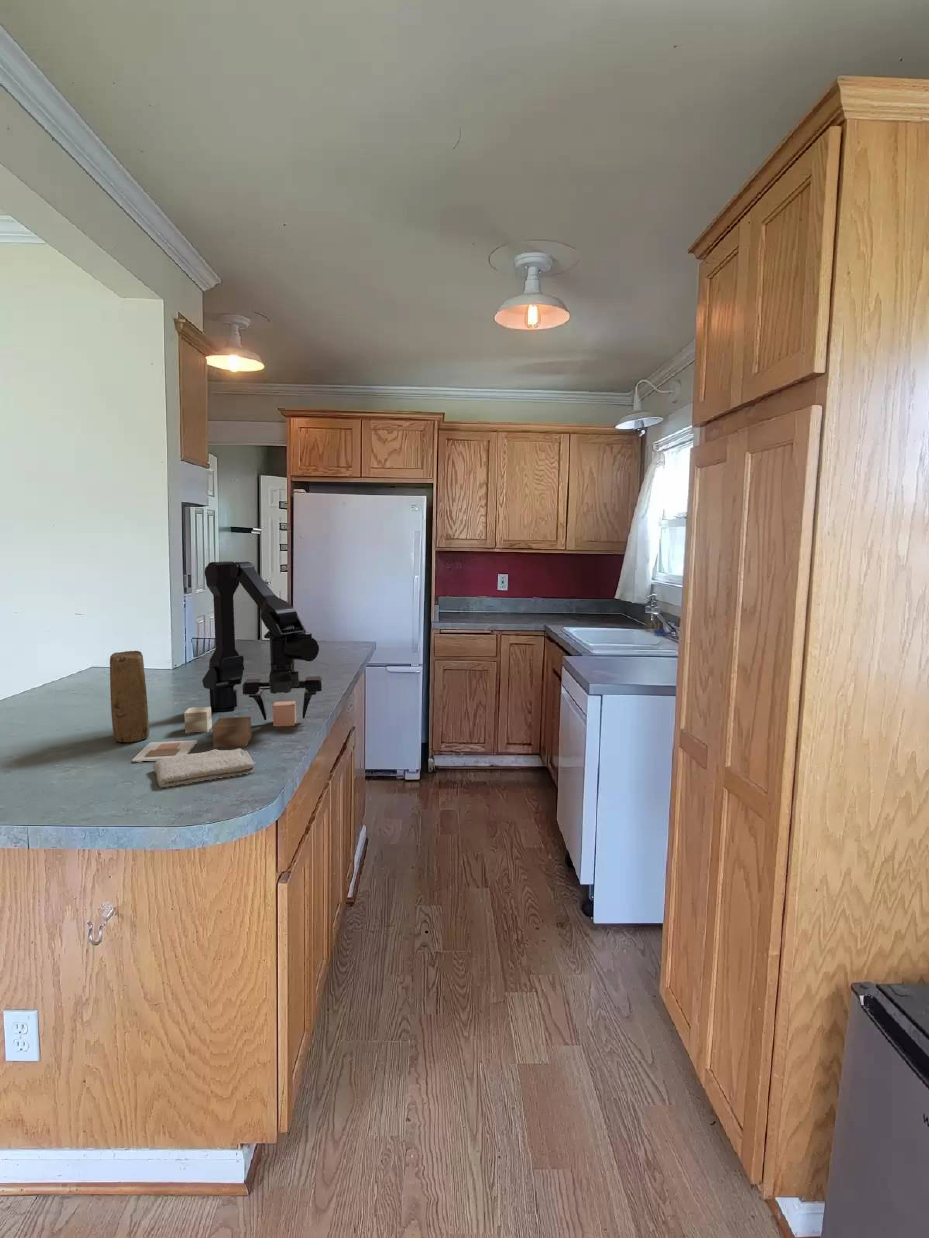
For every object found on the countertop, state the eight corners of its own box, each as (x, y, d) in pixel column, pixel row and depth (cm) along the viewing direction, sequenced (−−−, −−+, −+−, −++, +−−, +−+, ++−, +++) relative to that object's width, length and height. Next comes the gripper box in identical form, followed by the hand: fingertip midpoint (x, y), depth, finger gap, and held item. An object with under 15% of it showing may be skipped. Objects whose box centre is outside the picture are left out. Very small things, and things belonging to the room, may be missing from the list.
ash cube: (185, 733, 158) (184, 712, 157) (190, 727, 163) (189, 707, 162) (207, 732, 159) (206, 711, 158) (211, 726, 164) (210, 706, 163)
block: (150, 741, 152) (144, 654, 149) (113, 746, 148) (106, 657, 146) (148, 729, 161) (143, 647, 159) (113, 733, 158) (107, 650, 156)
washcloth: (258, 775, 131) (257, 759, 131) (158, 792, 122) (157, 776, 122) (246, 758, 141) (245, 743, 141) (153, 773, 133) (152, 758, 132)
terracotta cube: (273, 726, 163) (272, 706, 163) (275, 721, 168) (275, 702, 168) (294, 725, 164) (293, 705, 163) (296, 720, 169) (295, 701, 168)
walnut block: (213, 748, 147) (212, 726, 146) (220, 739, 154) (219, 718, 153) (246, 746, 148) (245, 724, 147) (251, 737, 155) (250, 716, 154)
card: (132, 762, 137) (131, 759, 137) (149, 745, 149) (149, 741, 149) (183, 759, 139) (183, 756, 139) (196, 742, 150) (196, 739, 150)
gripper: (237, 664, 155) (240, 730, 157) (319, 661, 158) (321, 726, 159) (245, 656, 166) (247, 717, 167) (321, 653, 169) (323, 714, 170)
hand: (284, 719), depth 166 cm, fingers open, 9 cm apart
